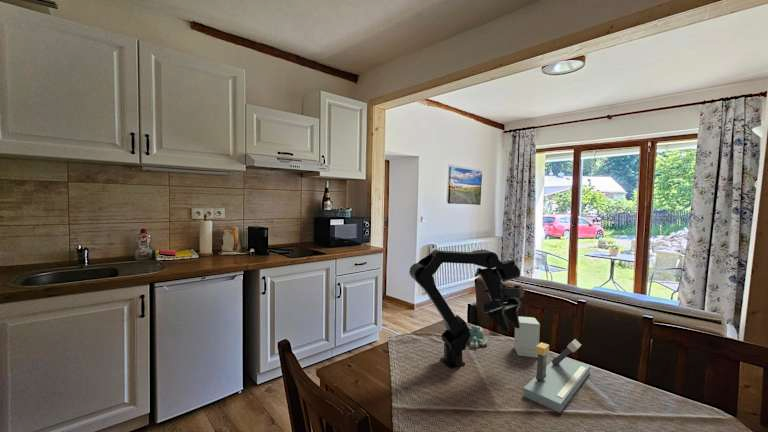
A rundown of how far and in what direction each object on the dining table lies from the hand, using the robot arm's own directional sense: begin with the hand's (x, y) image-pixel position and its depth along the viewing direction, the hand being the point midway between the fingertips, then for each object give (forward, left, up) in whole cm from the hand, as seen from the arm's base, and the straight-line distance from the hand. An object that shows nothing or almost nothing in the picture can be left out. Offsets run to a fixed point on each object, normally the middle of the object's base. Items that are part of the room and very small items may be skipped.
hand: (512, 329), depth 106 cm
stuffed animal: (-23, +4, -15) cm, 27 cm away
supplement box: (-9, +17, -15) cm, 24 cm away
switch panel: (+11, +9, -15) cm, 20 cm away
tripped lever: (+10, +2, -11) cm, 15 cm away
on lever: (+5, +15, -11) cm, 19 cm away
